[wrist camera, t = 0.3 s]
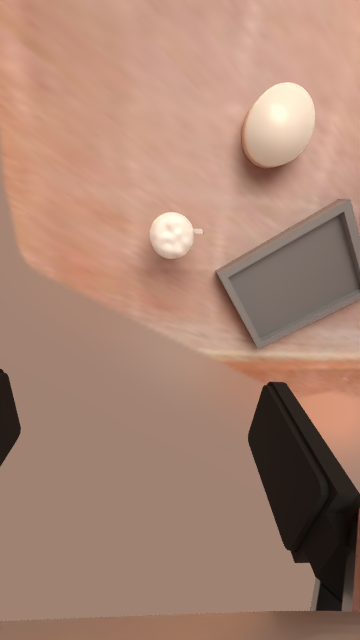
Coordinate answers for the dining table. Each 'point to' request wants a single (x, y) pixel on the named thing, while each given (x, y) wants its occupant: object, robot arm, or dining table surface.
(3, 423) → the robot arm
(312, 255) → the grey tray
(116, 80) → the dining table surface
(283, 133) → the cream domed disc
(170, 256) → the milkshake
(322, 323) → the dining table surface
